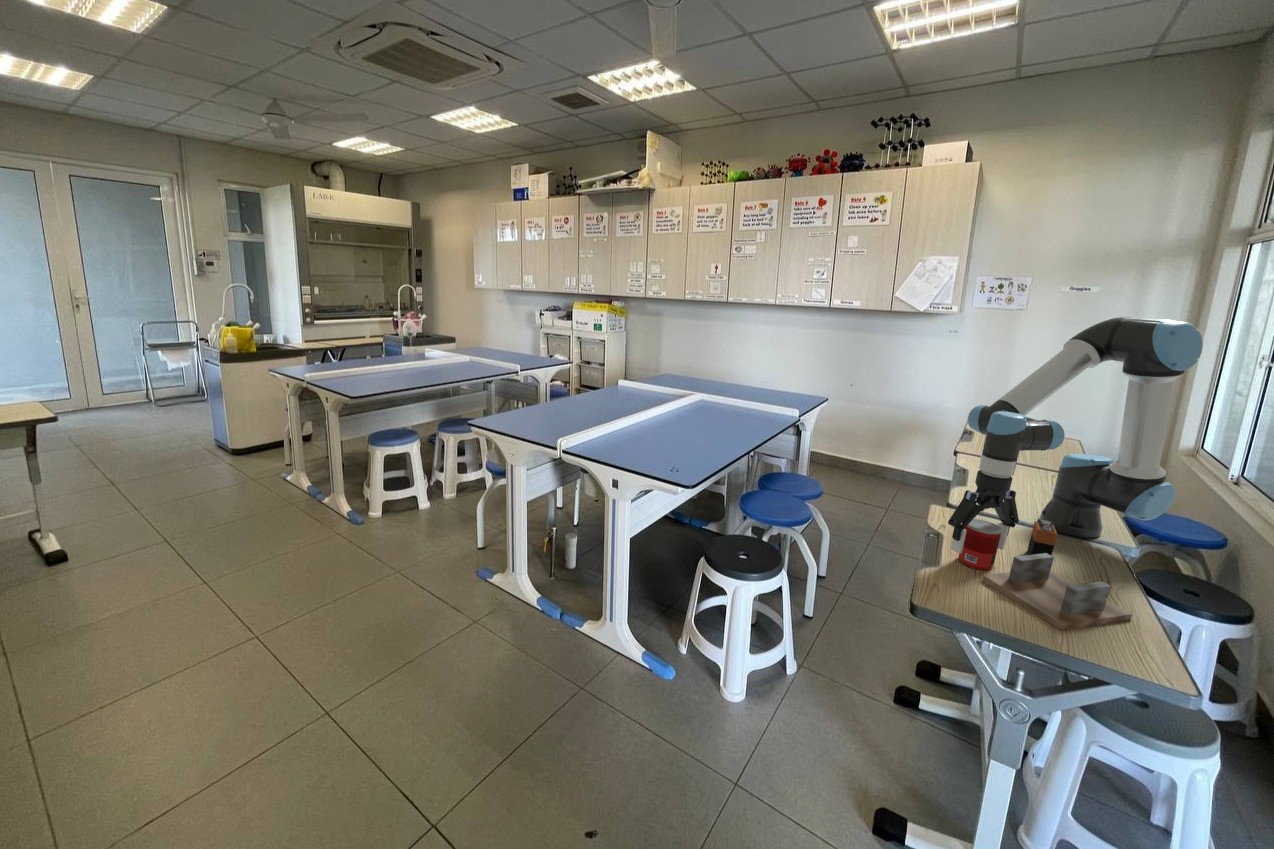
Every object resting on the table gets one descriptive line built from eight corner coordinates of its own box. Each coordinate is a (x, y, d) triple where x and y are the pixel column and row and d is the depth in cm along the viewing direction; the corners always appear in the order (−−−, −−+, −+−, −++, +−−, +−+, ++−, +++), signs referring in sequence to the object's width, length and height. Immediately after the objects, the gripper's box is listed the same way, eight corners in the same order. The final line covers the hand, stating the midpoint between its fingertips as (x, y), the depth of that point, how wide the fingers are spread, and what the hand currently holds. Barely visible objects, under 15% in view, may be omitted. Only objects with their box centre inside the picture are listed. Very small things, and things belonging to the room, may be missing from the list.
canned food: (998, 572, 138) (1007, 533, 135) (963, 568, 139) (972, 529, 136) (985, 558, 145) (994, 520, 142) (953, 554, 146) (961, 517, 144)
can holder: (1045, 572, 139) (1052, 546, 137) (1130, 619, 120) (1140, 590, 118) (982, 580, 134) (988, 553, 132) (1061, 630, 115) (1069, 599, 113)
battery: (1045, 554, 148) (1054, 521, 146) (1049, 565, 143) (1058, 530, 140) (1026, 550, 150) (1035, 517, 148) (1029, 560, 145) (1038, 526, 142)
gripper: (1020, 466, 143) (1002, 539, 148) (942, 469, 136) (926, 545, 142) (1047, 476, 136) (1027, 552, 141) (967, 480, 129) (949, 559, 135)
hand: (977, 549), depth 141 cm, fingers open, 13 cm apart
